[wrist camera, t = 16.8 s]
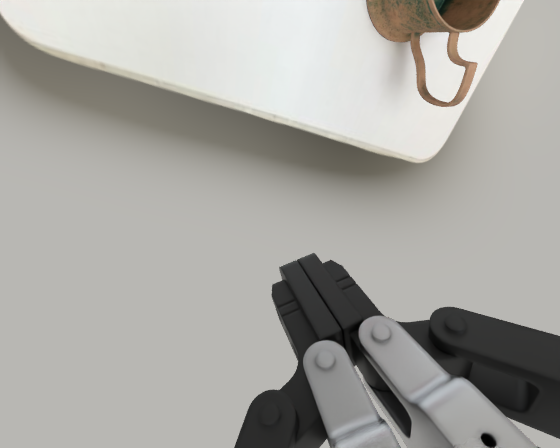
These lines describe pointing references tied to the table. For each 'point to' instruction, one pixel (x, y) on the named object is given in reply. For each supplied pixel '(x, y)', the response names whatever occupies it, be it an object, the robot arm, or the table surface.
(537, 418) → the robot arm
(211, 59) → the table surface
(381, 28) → the mug
